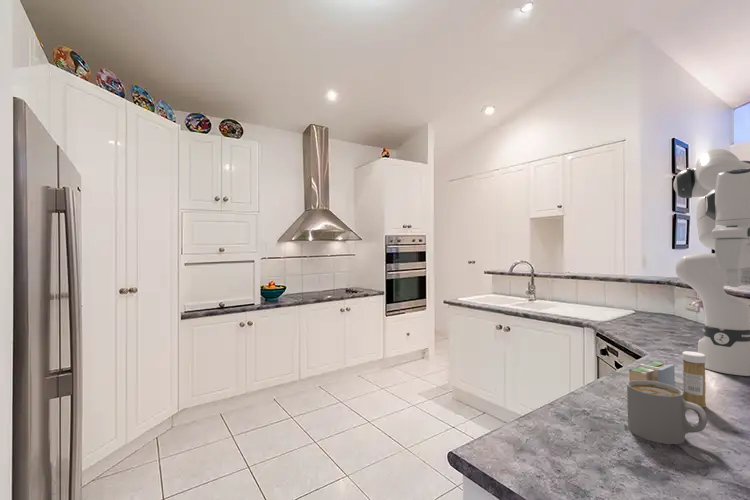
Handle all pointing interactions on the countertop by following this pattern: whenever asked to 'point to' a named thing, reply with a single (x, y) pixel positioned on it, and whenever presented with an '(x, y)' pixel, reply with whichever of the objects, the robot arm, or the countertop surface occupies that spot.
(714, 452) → the countertop surface
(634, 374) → the tan and green block
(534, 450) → the countertop surface
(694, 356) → the sprinkles bottle
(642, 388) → the coffee mug
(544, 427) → the countertop surface
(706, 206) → the robot arm
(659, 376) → the gauge plunger
